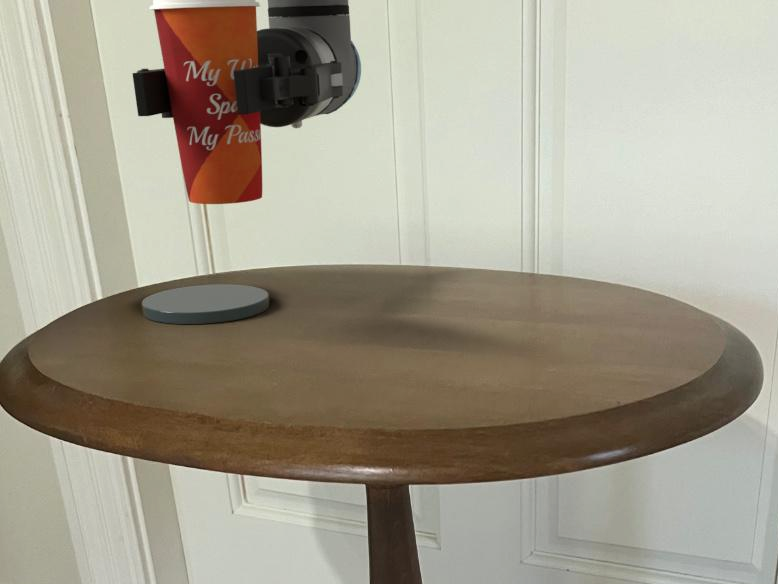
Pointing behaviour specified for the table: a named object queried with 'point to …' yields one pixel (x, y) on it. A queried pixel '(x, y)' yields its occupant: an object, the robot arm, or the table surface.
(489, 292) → the table surface
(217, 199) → the paper cup
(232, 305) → the coaster
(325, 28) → the robot arm
